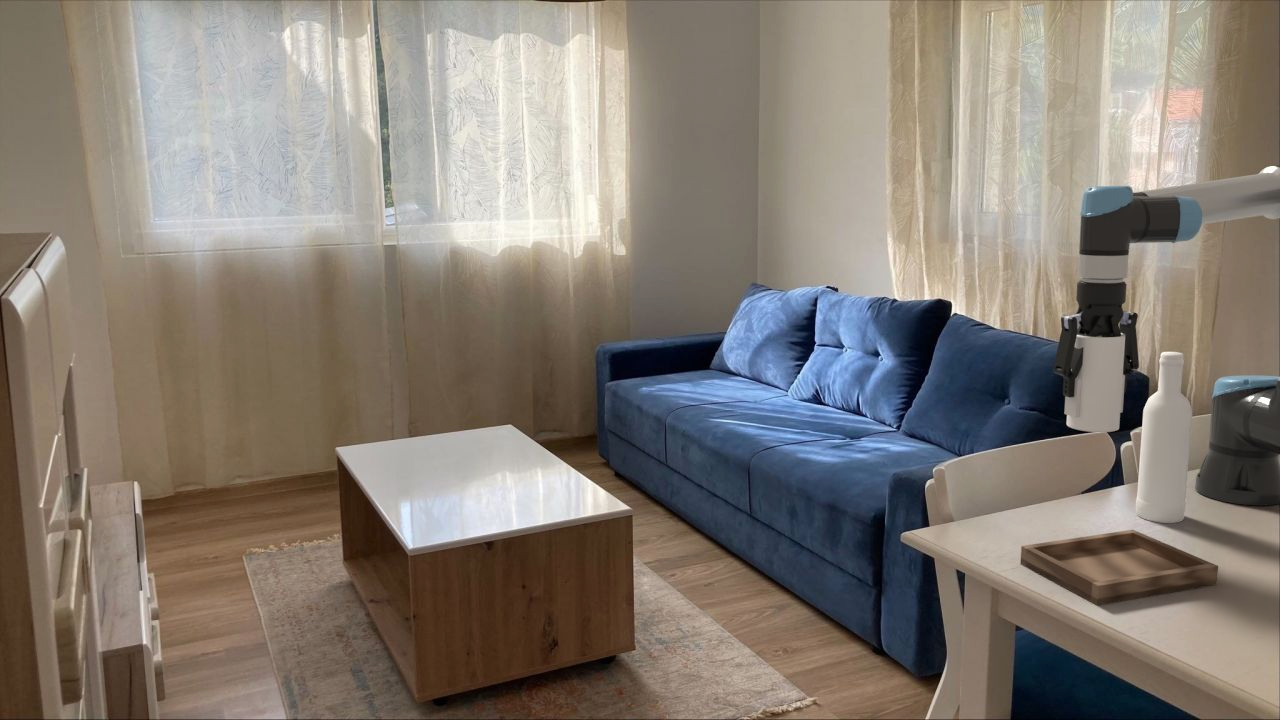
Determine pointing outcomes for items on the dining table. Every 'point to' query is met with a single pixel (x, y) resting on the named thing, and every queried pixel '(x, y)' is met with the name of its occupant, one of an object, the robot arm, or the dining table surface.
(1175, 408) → the bottle
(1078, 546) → the tray
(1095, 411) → the cup
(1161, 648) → the dining table surface
